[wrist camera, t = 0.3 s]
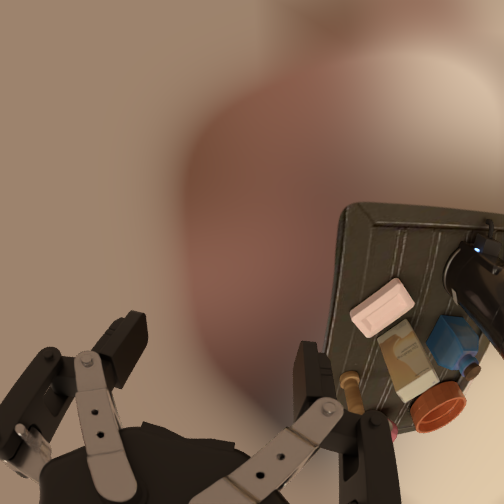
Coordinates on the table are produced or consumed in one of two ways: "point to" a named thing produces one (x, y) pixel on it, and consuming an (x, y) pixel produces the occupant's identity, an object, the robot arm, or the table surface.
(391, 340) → the cosmetic box
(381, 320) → the soap bar
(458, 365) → the blue potion bottle
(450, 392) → the bowl
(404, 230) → the table surface
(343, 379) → the stick
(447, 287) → the robot arm
